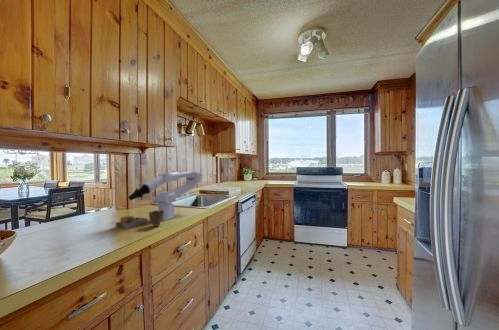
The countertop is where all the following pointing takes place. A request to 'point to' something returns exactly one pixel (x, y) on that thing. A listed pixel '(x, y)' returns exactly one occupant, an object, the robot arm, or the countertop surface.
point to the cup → (156, 217)
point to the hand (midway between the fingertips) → (132, 197)
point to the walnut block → (126, 220)
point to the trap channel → (136, 222)
